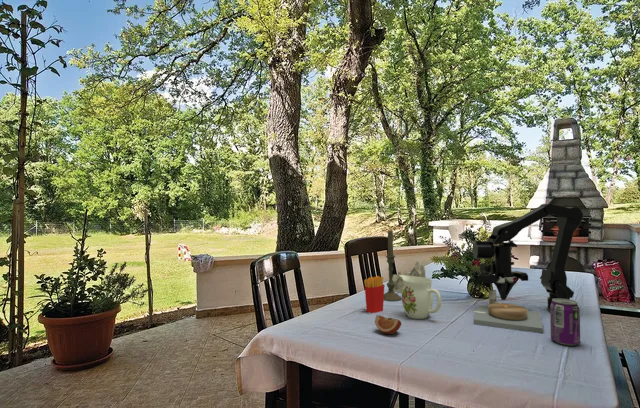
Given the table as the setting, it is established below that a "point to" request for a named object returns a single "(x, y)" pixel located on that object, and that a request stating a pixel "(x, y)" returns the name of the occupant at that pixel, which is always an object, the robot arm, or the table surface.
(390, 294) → the candlestick holder
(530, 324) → the slate base
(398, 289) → the ceramic cottage
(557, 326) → the beverage can
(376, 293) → the french fries
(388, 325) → the fruit slice
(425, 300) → the pitcher
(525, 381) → the table surface
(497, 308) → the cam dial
